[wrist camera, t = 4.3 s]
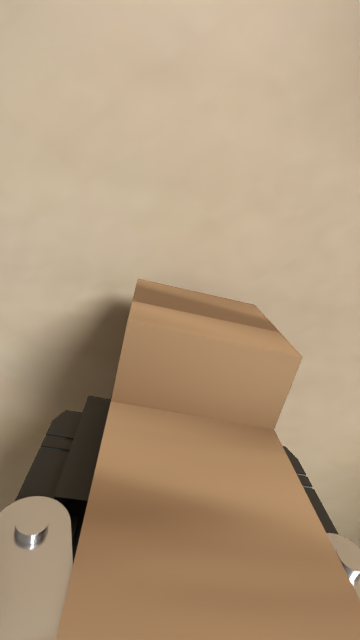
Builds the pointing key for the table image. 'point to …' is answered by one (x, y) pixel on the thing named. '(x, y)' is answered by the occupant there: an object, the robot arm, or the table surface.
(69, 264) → the table surface
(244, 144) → the table surface
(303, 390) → the table surface
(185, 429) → the tan stepped block
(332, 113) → the table surface
